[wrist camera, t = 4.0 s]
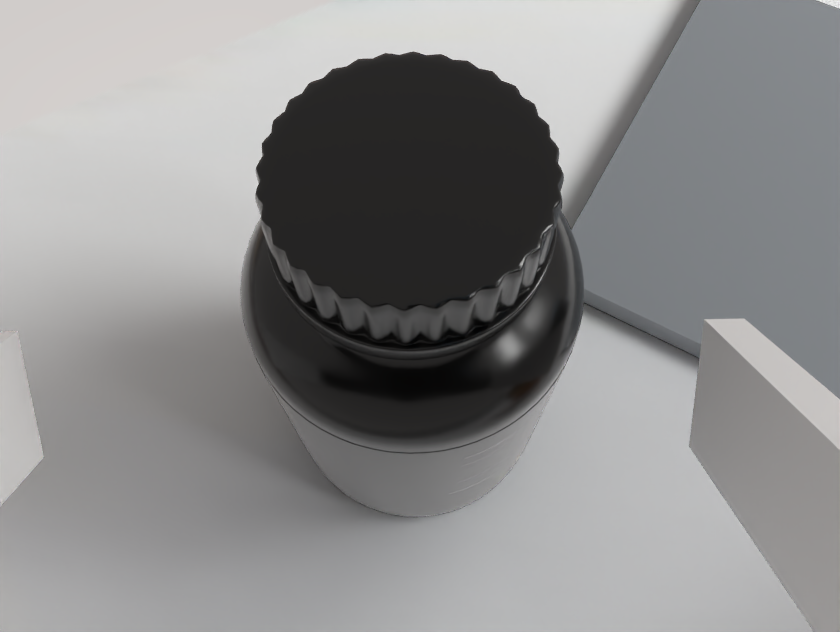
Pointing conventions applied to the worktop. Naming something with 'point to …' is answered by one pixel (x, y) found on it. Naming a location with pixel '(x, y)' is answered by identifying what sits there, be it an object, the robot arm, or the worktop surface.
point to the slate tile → (729, 187)
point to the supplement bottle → (412, 278)
